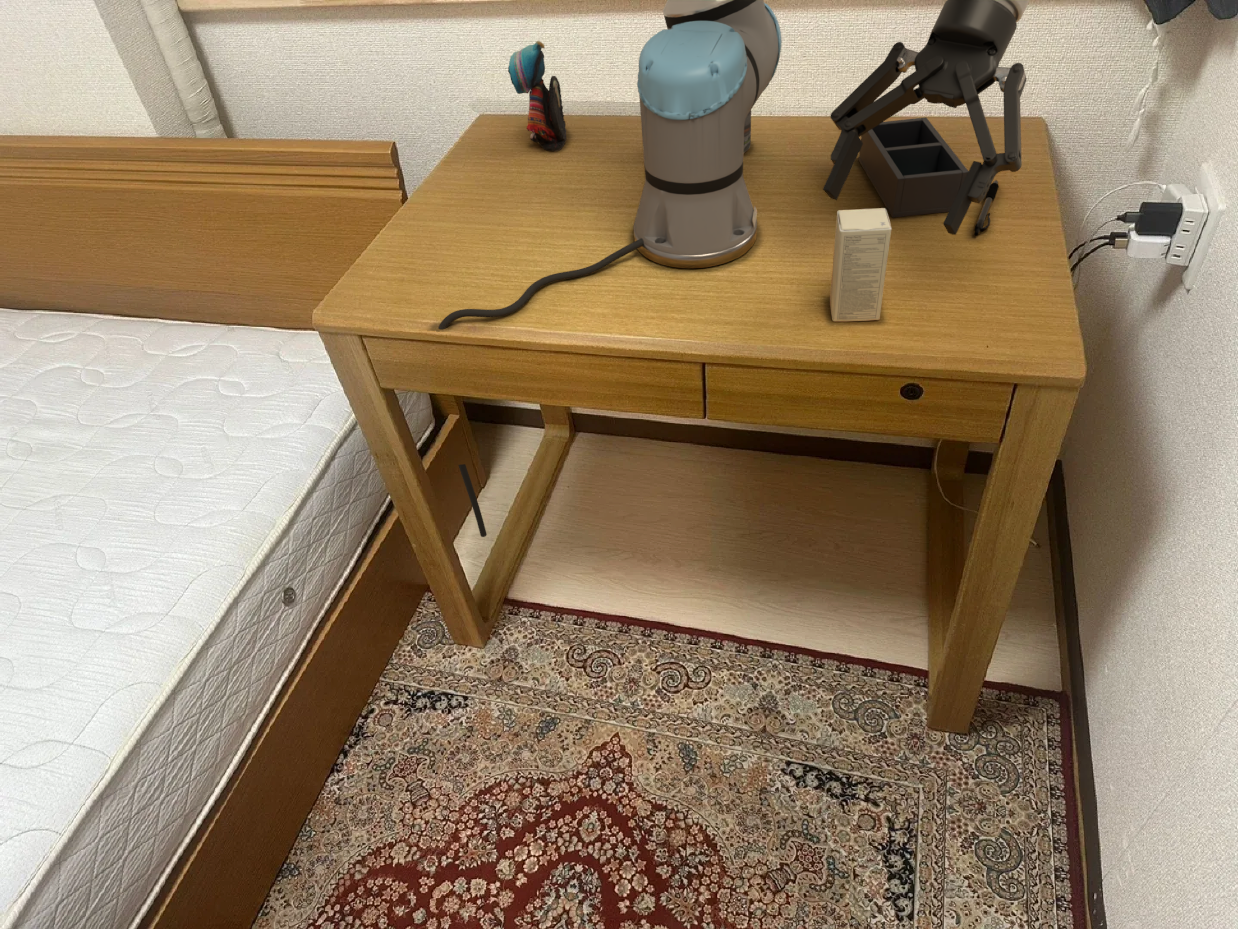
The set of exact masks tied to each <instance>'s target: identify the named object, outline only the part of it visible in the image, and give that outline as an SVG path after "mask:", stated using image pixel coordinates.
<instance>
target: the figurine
mask: <svg viewBox="0 0 1238 929" xmlns="http://www.w3.org/2000/svg"><path fill="white" fill-rule="evenodd" d="M542 49H545V44H544V43H543V42H542V41H541V40H537V41H536V42H535V43H533V44H529V45H526V46H525V47H523V48H521V49H520V50H517V51H514V52H513V53H512V54H511V56H510V58H509V62H508V67H507V72H508V74H509V78H510V81H511V84H512V85H513V88H514V90H515V92H516V94H518V95H521V94H522V95H523V94H529V95H528V99H529V102H528V103H529V104H528V115H527V126H526V129H525V130H527V131H528V132H531V133H530V136H529V137H530V138H529V139H530V141H532V142H533V143H537V144H538V145H539V146H540V147H542V149H543V150H545V151H547V152H559V151H561V150H562V149H563V148H564V147H565V145H566V142H567V128H566V125H567V124H566V121H565V119H564V118H565V115H564V110H563V109H564V107H563V99H562V92H561V91H562V90H561V85H560V84H561V83H560V81H559V79H558V78H557V76H556V75H552V76H550V79H549V80H550V81H549V84H548V85H549V86H548V87H547V86H546V85H545V82H544V80H545V79H543V77H544V75H545V72H546V65H545V54H544V52H543V51H542Z"/></svg>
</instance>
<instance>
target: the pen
mask: <svg viewBox="0 0 1238 929" xmlns="http://www.w3.org/2000/svg"><path fill="white" fill-rule="evenodd" d="M999 187H1000V186H999V180H998V179H995V180H993V181H992V183H991V185H990V187H989V189H988V191H987V193H986V195H985V197H984V202H983V204H982V207H981V209H980V212H979V215H978V217H977V220H976V221H975V224H974V228H973V235H974V236H975V237H978V236H979V235H980V234H981V233H984V232H986V231H987V230H988V229H989V228H990V225H991V212H990V209H991V207H992V205H993V202H994V201H995V199H996V196H997V193H998V190H999ZM986 221H987V222H986ZM985 223H987V224H986V225H985Z"/></svg>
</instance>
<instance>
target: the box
mask: <svg viewBox="0 0 1238 929" xmlns="http://www.w3.org/2000/svg"><path fill="white" fill-rule="evenodd" d="M834 234H835V235H834V245H833V246H834V247H833V256H832V257H833V258H832V270H831V283H830V295H829V306H830V315H831V319H832V321H833V322H868V321H879V320H880V319H881V312H882V306H883V305H882V304H883V295H884V288H885V280H886V273H887V265H888V258H889V250H890V244H891V235H892V225H891V221H890V217H889V214H888V210H887V208H886V207H881V208H879V207H878V208H861V209H859V208H858V209H839V210H837V211H836V220H835V233H834Z"/></svg>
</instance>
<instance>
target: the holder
mask: <svg viewBox="0 0 1238 929" xmlns="http://www.w3.org/2000/svg"><path fill="white" fill-rule="evenodd" d="M860 139H861V141H862V142H863V145H862V147H861V149H860V151H859V153H858V162H859V163H860V165H861V167H862V169H863V170H864V172H865V174H866V176H867V177H868V179H869V181H870V182H871V184H872V185H873V188H874V189H875V191H876V192H877V194H878V196H879V198H880V199H881V201H882V203H883V205H884V206H885V209H886V210H887V212H888V213H889V214H890V216H891V218H901V217H911V216H920V215H921V216H922V215H930V214H940V213H941V214H942V213H949V211H950V208H951V206H952V204H953V202H954V200H955V198H956V196H957V194H958V192H959V190H960V188H961V186H962V184H963V182H964V180H965V178H966V176H967V174H968V171H969V169H967V167H966V165H964V163H963V162H962V161H961V160H960V158H959V157H958V156H957V154H956V153H955V152H954V150H953V149H952V148H951V146H950V145H949V144H948V143H947V142H946V140H945V139H944V138H943V136H942V135H941V134H940V133H939V131H938V130H937V129H936V128H935V126H934V125H933V124H932V122H931V121H930V120H929V119H928V117H926V116H925V117H917V118H905V119H896V120H888V121H887V120H885V121H883V122H882V123H880V124H879V125H877V126H876V127H874V128H873V129H871V130H869V131H868V132H866V133H865V134H863V135H862V136H860Z"/></svg>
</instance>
